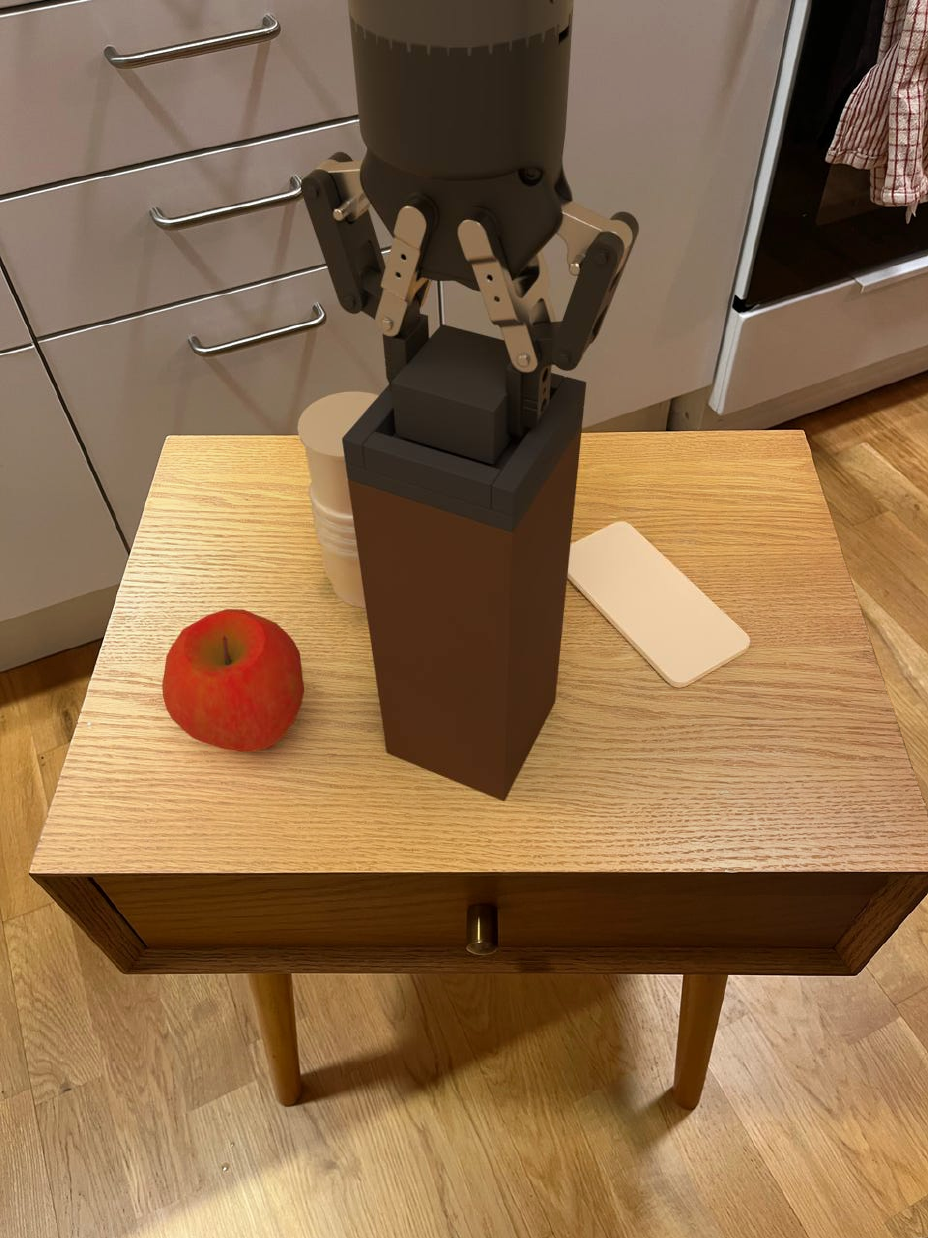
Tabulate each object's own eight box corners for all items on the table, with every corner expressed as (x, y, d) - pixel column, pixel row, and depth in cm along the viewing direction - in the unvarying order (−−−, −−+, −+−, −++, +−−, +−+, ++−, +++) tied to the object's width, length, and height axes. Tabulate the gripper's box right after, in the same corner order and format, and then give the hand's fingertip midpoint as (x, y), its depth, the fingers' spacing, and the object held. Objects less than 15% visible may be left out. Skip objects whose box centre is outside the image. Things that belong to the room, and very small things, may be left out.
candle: (395, 536, 77) (380, 379, 65) (428, 595, 73) (417, 439, 61) (313, 562, 75) (283, 405, 64) (342, 624, 71) (314, 469, 60)
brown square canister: (555, 702, 66) (587, 381, 46) (504, 802, 61) (514, 491, 41) (443, 660, 69) (427, 338, 49) (386, 753, 64) (341, 438, 44)
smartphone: (677, 687, 66) (549, 554, 74) (675, 693, 67) (549, 560, 75) (756, 641, 68) (624, 517, 77) (754, 648, 69) (623, 524, 77)
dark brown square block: (537, 402, 46) (540, 348, 44) (493, 465, 43) (494, 411, 41) (443, 376, 47) (441, 323, 45) (395, 435, 45) (390, 381, 42)
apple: (180, 795, 62) (133, 697, 54) (199, 688, 67) (159, 585, 59) (313, 789, 62) (287, 691, 54) (321, 684, 68) (298, 579, 59)
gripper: (216, 0, 32) (294, 416, 45) (628, 67, 28) (581, 504, 41) (332, -64, 36) (372, 332, 49) (703, -15, 32) (640, 404, 45)
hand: (467, 408), depth 45 cm, fingers closed on dark brown square block, 5 cm apart
